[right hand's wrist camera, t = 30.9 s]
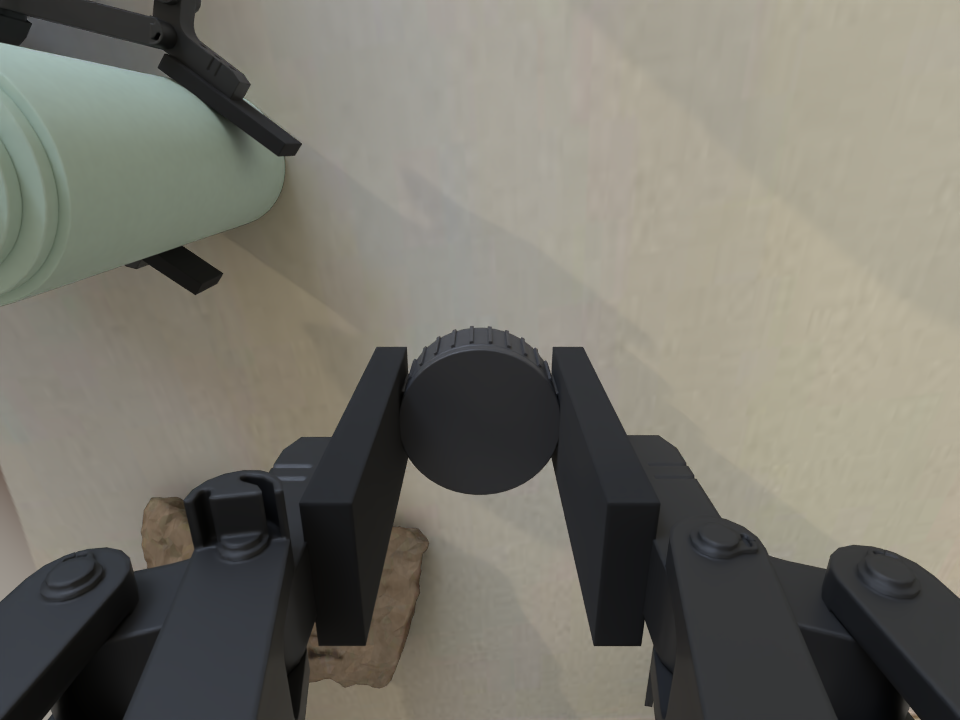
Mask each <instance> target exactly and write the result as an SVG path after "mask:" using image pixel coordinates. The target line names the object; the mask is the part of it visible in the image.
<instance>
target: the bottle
mask: <svg viewBox="0 0 960 720" xmlns="http://www.w3.org/2000/svg"><path fill="white" fill-rule="evenodd" d="M243 100H244V101H246V102H247V103H248V104H250V105H251V106H252V107H254V108H255V109H256V110H258V111H259V112H260V113H262V112H261V111H260V110H259V109H258V108H257V107H256V106H254V105H253V104H252V103H250V102H249V101H248V100H246V99H244V98H243ZM262 114H263V113H262ZM263 115H264V114H263ZM284 176H285V160H284V156H280V157H278V156H277V155H275V154H274V153H272V152H271V151H270V150H268V149H267V148H266V147H264V146H263V145H262V144H260V143H259V142H258V141H256V140H255V139H253V138H252V137H251V136H249V135H248V134H247V133H245V132H244V131H243V130H241V129H240V128H239V127H237V126H236V125H234V124H233V123H232V122H230V121H229V120H228V119H226V118H225V117H224V116H222V115H221V114H220V113H218V112H217V111H216V110H214V109H213V108H211V107H210V106H209V105H207V104H206V103H205V102H203V101H202V100H201V99H199V98H198V97H197V96H195V95H194V94H192V93H191V92H190V91H188V90H187V89H186V88H184V87H183V86H182V85H180V84H179V83H178V82H176V81H175V80H173V79H170V78H165V77H161V76H156V75H151V74H146V73H142V72H137V71H132V70H127V69H123V68H118V67H113V66H109V65H104V64H99V63H94V62H90V61H85V60H80V59H75V58H71V57H66V56H61V55H57V54H52V53H47V52H42V51H38V50H33V49H28V48H24V47H19V46H14V45H9V44H5V43H0V306H4V305H7V304H11V303H14V302H17V301H20V300H23V299H26V298H29V297H32V296H35V295H38V294H41V293H44V292H47V291H50V290H52V289H55V288H58V287H61V286H64V285H67V284H70V283H73V282H76V281H79V280H82V279H85V278H88V277H91V276H94V275H97V274H100V273H103V272H106V271H109V270H111V269H114V268H117V267H120V266H123V265H126V264H129V263H132V262H135V261H138V260H141V259H144V258H147V257H150V256H153V255H156V254H159V253H162V252H165V251H168V250H170V249H173V248H176V247H179V246H182V245H185V244H188V243H191V242H194V241H197V240H200V239H203V238H206V237H209V236H212V235H215V234H218V233H221V232H224V231H227V230H230V229H232V228H235V227H238V226H241V225H244V224H247V223H250V222H252V221H254V220H257V219H258V218H260V217H261V216H263V215H264V214H265V213H266V212H267V211H269V210H270V208H271V207H272V206H273V205H274V203H275V202H276V200H277V199H278V197H279V194H280V192H281V190H282V186H283V183H284Z"/></svg>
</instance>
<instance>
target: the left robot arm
mask: <svg viewBox="0 0 960 720" xmlns="http://www.w3.org/2000/svg"><path fill="white" fill-rule="evenodd" d="M200 6H201V0H154V8H153V16H146V15H142V14H138V13H134V12H130V11H127V10H123V9H119V8H115V7H111V6H107V5H103V4H99V3H96V2H92V1H88V0H0V43H5V44H9V45H14V46H19V45H20V44H21V43H22V42H23V40H24V39H25V38H26V37H27V34H28V32H29V29H30V27H31V25H32V23H30V22H29V21H28V20H27V16H30V17H34V18H38V19H42V20H46V21H50V22H54V23H59V24H63V25H67V26H71V27H74V28H78V29H82V30H86V31H90V32H94V33H98V34H102V35H106V36H110V37H114V38H118V39H122V40H126V41H130V42H134V43H138V44H142V45H145V46H149V47H153V48H157V49H161V50H164V51H165V52H166V53H168V54H169V55H168V54H164V56H163V58H162V60H161V62H160V64H159V66H158V68H159V69H160V70H161V71H163V72H164V73H165V74H167V75H168V76H169V77H171V78H172V79H173V80H175V81H176V82H178V83H179V84H180V85H182V86H183V87H184V88H186V89H187V90H188V91H190V92H191V93H192V94H194V95H195V96H197V97H198V98H199V99H201V100H202V101H203V102H205V103H206V104H207V105H209V106H210V107H211V108H213V109H214V110H216V111H217V112H218V113H220V114H221V115H222V116H224V117H225V118H226V119H228V120H229V121H230V122H232V123H233V124H234V125H236V126H237V127H239V128H240V129H241V130H243V131H244V132H245V133H247V134H248V135H249V136H251V137H252V138H253V139H255V140H256V141H258V142H259V143H260V144H262V145H263V146H264V147H266V148H267V149H268V150H270V151H271V152H272V153H274V154H275V155H277V156H278V157H280V156H295V154H296V153H297V151H298V150H299V148H300V146H301V145H302V143H300V142H299V141H298V140H296V139H295V138H294V137H292V136H291V135H290V134H288V133H287V132H286V131H284V130H283V129H282V128H280V127H279V126H278V125H276V124H275V123H274V122H272V121H271V120H270V119H268V118H267V117H266V116H264V115H263V114H262V113H260V112H259V111H258V110H256V109H255V108H254V107H252V106H251V105H250V104H248V103H247V102H246V101H244V100H243V98H244V96H245V94H246V92H247V90H248V89H249V87H250V85H251V84H250V83H249V81H248V80H247V78H246V77H245V75H244V74H243V73H241V72H240V71H239V70H237V69H236V68H235V67H233V66H232V65H231V64H229V63H228V62H227V61H225V60H224V59H223V58H222V57H220V56H219V55H218V54H216V53H215V52H214V51H212V50H211V49H210V48H208V47H207V46H206V45H204V44H203V43H202V42H201V41H200V40H199V39H198V37H197V36H196V34H195V31H194V16H195V13H196V12H197V11H198V10H199V8H200ZM146 265H150V266H152V267H153V268H155V269H156V270H158V271H159V272H161V273H162V274H164V275H166V276H167V277H169V278H170V279H172V280H173V281H175V282H176V283H178V284H179V285H181V286H182V287H184V288H185V289H187V290H188V291H190V292H192V293H193V294H195V295H197V294H198V293H200V292H202V291H204V290H206V289H208V288H210V287H212V286H214V285H215V284H217V283H218V281H219V280H220V278H221V277H222V275H223V273H222V272H220V271H219V270H217V269H216V268H214V267H213V266H211V265H210V264H208V263H207V262H206V261H204V260H203V259H201V258H200V257H198V256H197V255H195V254H194V253H192V252H191V251H189V250H188V249H186V248H185V247H183V246H179V247H176V248H173V249H170V250H168V251H165V252H162V253H159V254H156V255H153V256H150V257H147V258H144V259H141V260H138V261H135V262H132V263H129V264H126V265H125V266H127V267H131V268H134V269H138V268H141V267H144V266H146Z"/></svg>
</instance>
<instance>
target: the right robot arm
mask: <svg viewBox="0 0 960 720" xmlns="http://www.w3.org/2000/svg"><path fill="white" fill-rule="evenodd" d="M407 373H408V361H407V347H376V349H375V351H374V353H373V355H372V357H371V359H370V361H369V363H368V365H367V367H366V369H365V371H364V373H363V375H362V377H361V379H360V381H359V383H358V385H357V387H356V389H355V391H354V393H353V395H352V397H351V399H350V401H349V404H348V406H347V408H346V410H345V412H344V414H343V416H342V418H341V420H340V422H339V424H338V426H337V428H336V430H335V432H334V434H333V436H332V437H301V438H299V439H298V440H297V441H295V442H294V443H292V444H291V445H290V446H288V447H287V448H285V449H284V450H283V451H282V453H281V454H280V456H279V457H278V459H277V460H276V462H275V464H274V467H273V468H271V470H270V471H269V473H268V472H265V471H261V470H242V471H237V472H232V473H226V474H223V475H220V476H218V477H215V478H213V479H210V480H207V481H206V482H204V483H202V484H201V485H199V486H198V487H196V488H195V489H193V490H192V491H191V492H190V493H189V495H188V496H187V497H186V498H185V499H184V500H183V502H184V506H185V511H186V515H187V520H188V524H189V529H190V533H191V537H192V542H193V546H194V551H193V554H192V556H191V558H189V559H186V560H183V561H179V562H176V563H172V564H167V565H162V566H158V567H153V568H148V569H144V570H139V571H134V572H133V568H132V564H131V561H130V558H129V557H128V556H127V555H126V554H125V553H124V552H123V551H122V550H117V549H112V548H107V547H106V548H95V549H86V550H83V551H78V552H76V553H75V552H74V553H71V554H68V555H65V556H63V557H61V558H59V559H57V560H55V561H53V562H51V563H49V564H47V565H45V566H43V567H42V568H40V569H39V570H37V571H36V572H35V573H33V574H32V575H31V576H29V577H28V578H26V579H25V580H24V581H23V582H22V583H21V584H20V585H19V586H18V587H16V588H15V589H14V590H13V591H12V592H11V593H10V594H9V595H7V596H6V597H5V598H4V599H3V600H2V601H1V602H0V720H42V719H43V718H44V717H45V715H46V714H47V713H48V712H49V710H50V709H51V711H52V715H51V716H50V718H49V719H48V720H305V714H306V704H307V695H308V685H309V676H310V666H309V659H308V652H307V644H308V641H309V638H310V635H311V632H312V629H313V626H314V623H315V624H316V631H317V639H318V646H366V643H367V638H368V634H369V629H370V625H371V620H372V616H373V611H374V607H375V603H376V598H377V594H378V589H379V585H380V580H381V576H382V571H383V567H384V563H385V558H386V554H387V549H388V545H389V540H390V536H391V531H392V527H393V523H394V518H395V514H396V509H397V505H398V500H399V496H400V491H401V487H402V483H403V478H404V474H405V469H406V465H407V460H408V456H407V454H406V452H405V450H404V448H403V445H402V443H401V432H400V414H399V408H400V404H401V400H402V397H403V395H402V394H401V391H402V388H403V385H404V382H405V379H406V375H407ZM551 375H553V377H554V380H555V383H556V386H557V389H558V393H559V396H557V398H558V402H559V406H560V426H559V441H558V444H557V447H556V449H555V451H554V453H553V455H552V457H551V458H552V462H553V466H554V471H555V475H556V480H557V484H558V489H559V493H560V498H561V502H562V506H563V511H564V515H565V520H566V524H567V529H568V533H569V538H570V542H571V546H572V551H573V555H574V560H575V564H576V569H577V573H578V578H579V582H580V586H581V591H582V595H583V600H584V604H585V609H586V613H587V618H588V622H589V626H590V631H591V635H592V640H593V644H594V646H641V643H642V636H643V629H644V621H645V622H646V624H647V627H648V630H649V633H650V636H651V639H652V642H653V645H654V646H653V652H652V659H651V666H650V673H649V679H648V686H647V693H646V700H645V706H649V707H652V705H653V703H654V712H655V720H914V719H913V717H912V716H911V715H910V714H909V712H908V710H909V707H911V708H912V709H913V711H914V712H915V713H916V714H917V716H918V717H919V718H920V719H921V720H960V598H958V597H957V596H956V595H955V594H954V593H953V592H952V591H951V590H949V589H948V588H947V587H946V586H945V585H944V584H943V583H942V582H940V581H939V580H938V579H937V578H936V577H935V576H934V575H932V574H931V573H929V572H928V571H927V570H925V569H924V568H922V567H921V566H920V565H918V564H917V563H915V562H913V561H911V560H909V559H907V558H904V557H902V556H900V555H898V554H896V553H894V552H891V551H888V550H883V549H881V548H876V547H872V546H860V545H851V546H846V547H841V548H838V549H837V550H836V551H835V552H834V553H833V554H831V556H830V559H829V563H828V566H827V569H823V568H818V567H814V566H809V565H804V564H800V563H795V562H790V561H786V560H782V559H779V558H775V557H772V556H769V555H768V553H767V550H766V548H765V547H764V545H763V544H762V543H761V541H760V540H759V538H758V537H757V536H755V535H754V534H753V533H751V532H750V531H749V530H747V529H746V528H745V527H743V526H741V525H738V524H736V523H734V522H731V521H729V520H727V519H723V518H721V517H720V515H719V514H718V512H717V510H716V509H715V507H714V506H713V504H712V503H711V501H710V499H709V498H708V496H707V495H706V493H705V492H704V490H703V488H702V487H701V485H700V484H699V482H698V481H697V479H694V474H693V473H692V471H691V470H690V468H689V467H688V466H686V462H685V460H684V459H683V457H682V456H681V454H680V452H679V451H678V449H677V448H676V447H674V446H673V445H672V444H670V443H669V442H667V441H666V440H664V439H663V438H662V437H660V436H659V435H627V434H626V432H625V430H624V428H623V426H622V424H621V422H620V420H619V418H618V416H617V414H616V412H615V410H614V408H613V406H612V404H611V402H610V400H609V398H608V396H607V394H606V392H605V390H604V388H603V386H602V384H601V382H600V380H599V378H598V376H597V374H596V372H595V370H594V368H593V366H592V364H591V362H590V360H589V358H588V356H587V354H586V352H585V350H584V348H583V347H553V354H552V374H551Z"/></svg>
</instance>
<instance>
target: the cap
mask: <svg viewBox="0 0 960 720" xmlns="http://www.w3.org/2000/svg"><path fill="white" fill-rule="evenodd" d="M401 394H402V395H403V397H402V400H401V404H400V408H399V414H400V432H401V443H402V445H403V448H404V450H405V452H406V454H407V456H408V457H409V459H410V460H411V462H412V463H413V464H414V466H415V467H416V468H417V469H418V470H419V471H420V472H421V473H422V474H423V475H425V476H426V477H427V478H428V479H430V480H431V481H433V482H435V483H436V484H438V485H440V486H442V487H444V488H446V489H449V490H452V491H455V492H460V493H464V494H473V495H487V494H495V493H500V492H504V491H507V490H510V489H513V488H516V487H518V486H520V485H522V484H524V483H525V482H527V481H528V480H530V479H531V478H533V477H534V476H535V475H536V474H537V473H539V472H540V471H541V470H542V468H543V467H544V466H545V465H546V464H547V463H548V461H549V460H550V458H551V457H552V455H553V453H554V451H555V449H556V447H557V444H558V441H559V426H560V406H559V402H558V398H557V396H559V393H558V389H557V386H556V383H555V380H554V377H553V375H551V373H550V370H549V366H548V363H547V361H543V359H542V358H541V357H540V355H539V353H538V350H537V349H536V348H534V349H533V348H532V347H531V346H530V345H529V344H527V343H526V342H525V339H524V338H522V337H521V339H520V338H518V337H516V336H514V335H512V334H509V331H507V330H505V332H504V331H500V330H496V329H492V327H490V326H488V328H474V326H470V329H463V330H459V331H456V329H455V330H453V332H452V333H450V334H448V335H445V336H443V337H442V338H441V337H440V336H439V337H437V340H436V341H435V342H434V343H432V344H431V345H430V346H429V347H428V348H427V347H426V346H425V347H424V348H423V352H422V354H421V355H420V356H419V358H418V359H417V360H416V359H414V361H413V363H412V367H411V370H410V373H409V374H408V373H407V375H406V379H405V382H404V385H403V388H402V391H401Z"/></svg>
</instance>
